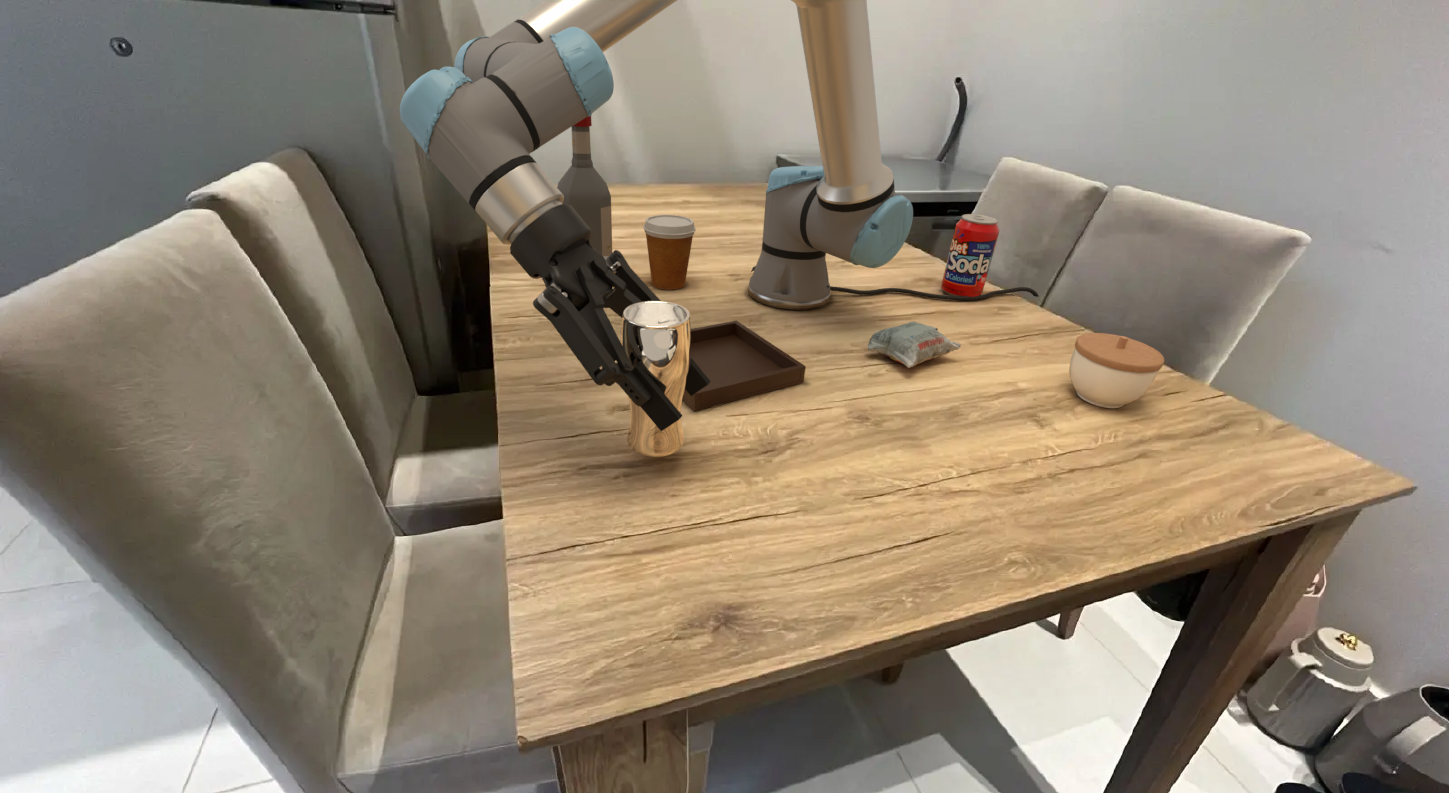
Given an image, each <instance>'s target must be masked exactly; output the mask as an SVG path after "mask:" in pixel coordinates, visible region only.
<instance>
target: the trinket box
mask: <svg viewBox="0 0 1449 793" xmlns="http://www.w3.org/2000/svg"><path fill="white" fill-rule="evenodd" d="M1164 364H1165V358H1164V356H1163V354H1162V353H1161V352H1160V351H1158V350H1157V349H1155V348H1154V347H1152V346H1150V345H1148V344H1146V343H1143V342H1141V341H1139V340H1136V339H1133V338H1131V337H1129V336H1125V335H1118V334H1112V333H1105V332H1104V333H1103V332H1088V333H1082V334H1080V335H1079V336H1077V338H1076V339H1075V342H1074V347H1073V350H1072V354H1071V357H1070V361H1069V366H1068V367H1069V368H1068V373H1069V378H1070V382H1071V385H1072V386H1073V388H1074V389H1075V393H1076V395H1077V396H1078V397H1079V398H1080V399H1082V401H1085V402H1087V403H1088V404H1091V405H1093V406H1097V407H1099V408H1105V409H1119V408H1122V407H1124V406H1125V405H1127V404H1130V403H1133V402H1135V401H1137V400H1138V399H1140V398H1141V397H1142V396H1144V395H1145V394H1146V393H1147V391H1148V390H1149V389H1150V388H1151V386H1152V385H1153V384H1154V382H1155V381H1156V378H1157V377H1158V374H1159V372H1160V370H1161V369H1162V368H1163V366H1164Z"/></svg>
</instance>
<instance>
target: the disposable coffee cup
mask: <svg viewBox="0 0 1449 793" xmlns="http://www.w3.org/2000/svg"><path fill="white" fill-rule="evenodd" d="M645 218H646V219H645V222H644V224H643V226H642V228H643V230H644V233H645V237H646V238H645V239H646V245H647V254H648V263H649V270H650V279H651V285H652V286H653V287H654V288H657V289H659V290H667V291H669V290H679V289H683V288H684V287H685V286H686V280H687V275H688V268H689V262H690V256H691V251H692V243H693V238H694V235H695V232H696V231H697V230H696V229H697V228H696V227H695V223H694V220H693V219H692V218H689V217H687V216H683V215H677V214H656V215H655V214H654V215H650V216H647V217H645Z"/></svg>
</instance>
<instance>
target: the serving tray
mask: <svg viewBox="0 0 1449 793" xmlns="http://www.w3.org/2000/svg"><path fill="white" fill-rule="evenodd" d="M690 330H691V358H692V359H693V360H694V362H695V363H696V364H697V365H698V367H699V368H700V369H701V370H702V371H703V373H704V374H705V375H706V376H707V378H708V379H709V380H710V381H711V382H710V383H709V384H708V385H707V386H705V387H704V388H702V389H701V390H700V391H698V392H697V393H695V394H694V395H692V396H690V394H689V393H688V392H687V391H686V389H685V393H684V397H683V401H682V402H683V403H684V404H685V405H687V406H688V407H689V408H690V409H691V410H692V411H693V412H697V411H701V410H705V409H708V408H713V407H716V406H720V405H725V404H728V403H731V402H735V401H739V400H743V399H747V398H750V397H754V396H758V395H763V394H765V393H766V394H767V393H769V392H773V391H777V390H781V389H785V388H789V387H792V386H796V385H800V384H804V382H805V375H806V368H807V367H806V365H805V364H803V363H802V362H800V361H798V360H797V359H795V358H794V357H792V356H791V355H790V354H788V353H786V352H785V351H783V350H782V349H781V348H779V347H777V346H776V345H774V344H773V343H772V342H770V341H768V340H767V339H765V338H764V337H763V336H761V335H759V334H758V333H756V332H755V331H753V330H752V329H750V327H747V326H745V325H744V324H742V323H741V322H740V321H738V320H732V321H726V322H721V323H715V324H711V325H705V326H701V327H694V328H690Z"/></svg>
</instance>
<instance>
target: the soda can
mask: <svg viewBox="0 0 1449 793" xmlns="http://www.w3.org/2000/svg"><path fill="white" fill-rule="evenodd" d="M998 223H999V220H998V219H997V218H995V217H992V216H988V215H984V214H974V213H966V214H962V215H961V219H959V221H957V223H955V227H954V230H953V234H952V239H951V243H950V246H949V252H948V256H947V260H946V264H945V268H944V272H943V276H942V280H941V285H940V288H941V290H942V291H943V292H945V294H946V295H949V296H969V297H975V296H979V295H983V291H984V288H985V285H986V281H987V277H988V274H989V270H990V266H991V264H992V259H993V257H994V252H995V249H996V245H997V241H998V238H999V235H1000V228H999V225H998Z"/></svg>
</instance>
